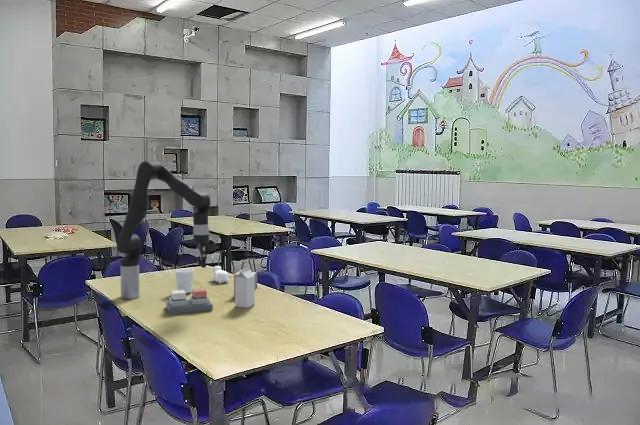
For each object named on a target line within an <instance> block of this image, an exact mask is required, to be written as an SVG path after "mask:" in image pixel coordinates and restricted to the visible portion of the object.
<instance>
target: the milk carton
mask: <svg viewBox="0 0 640 425" xmlns="http://www.w3.org/2000/svg"><path fill="white" fill-rule="evenodd" d="M240 270H241V271H240ZM240 270H239V271H240V272H239V271H238V272H239V274H238V275H237V276H236V277H235V296H234V299H235V300H234V304H235V305H234V306H235V307H240V308H244V309H248V308H251V307H252V306H255V305H256V304H255V303H256V302H255V301H256V300H255V298H256V297H255V296H256V295H255V294H256V293H255V292H256V289H255V276H254V274H253V273H252V272H253V271H252V272H251V271H250V270H251V269H250V267H245V268H242V269H240Z"/></svg>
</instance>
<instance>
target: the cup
mask: <svg viewBox="0 0 640 425" xmlns="http://www.w3.org/2000/svg"><path fill="white" fill-rule="evenodd" d="M194 271H195V270H194V269H193V268H187V267H186V268H178V269H176V270H175V271H174V272H175V281H176V288H177V289H176V290H184V291H185V292H186V295H190V294H192V289H193V284H194Z"/></svg>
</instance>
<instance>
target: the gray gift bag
mask: <svg viewBox="0 0 640 425" xmlns="http://www.w3.org/2000/svg"><path fill="white" fill-rule="evenodd" d="M241 270H242V269H240V270H239V271H237V272H235V273H234V274H233V296H234V297H235V277H236V276H237V275H238V274H239V272H240V271H241ZM249 270H250V271H251V272H252V273H253V274H254V276H255V290H256V289H257V288H258V272H257V271H253V270H252V269H249Z"/></svg>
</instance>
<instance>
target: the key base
mask: <svg viewBox="0 0 640 425" xmlns="http://www.w3.org/2000/svg"><path fill="white" fill-rule="evenodd" d="M168 298H169V300H166V301H165V306H166V309H167V312H168V313H169V315H170V316H172V315H181V314H193V313H203V312H212V311H213V307H214V306H213V303H212V302H211V301H210V298H209V297H208V295H207V297H200V298H194V297H193V295H190V296H189V298H188V297H186V299H178V300H173V299H172V297H168Z"/></svg>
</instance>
